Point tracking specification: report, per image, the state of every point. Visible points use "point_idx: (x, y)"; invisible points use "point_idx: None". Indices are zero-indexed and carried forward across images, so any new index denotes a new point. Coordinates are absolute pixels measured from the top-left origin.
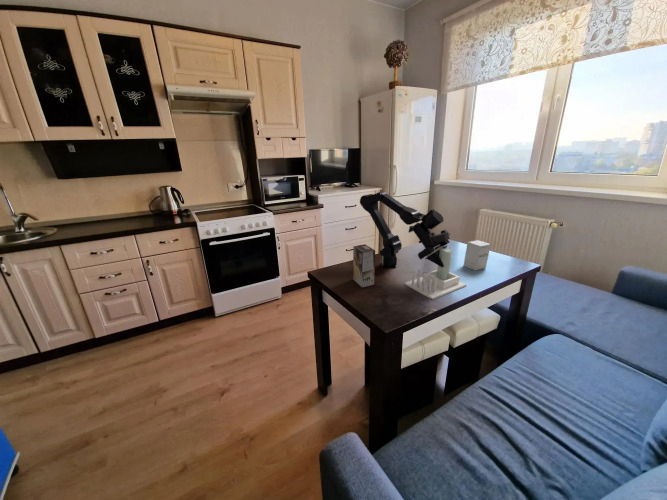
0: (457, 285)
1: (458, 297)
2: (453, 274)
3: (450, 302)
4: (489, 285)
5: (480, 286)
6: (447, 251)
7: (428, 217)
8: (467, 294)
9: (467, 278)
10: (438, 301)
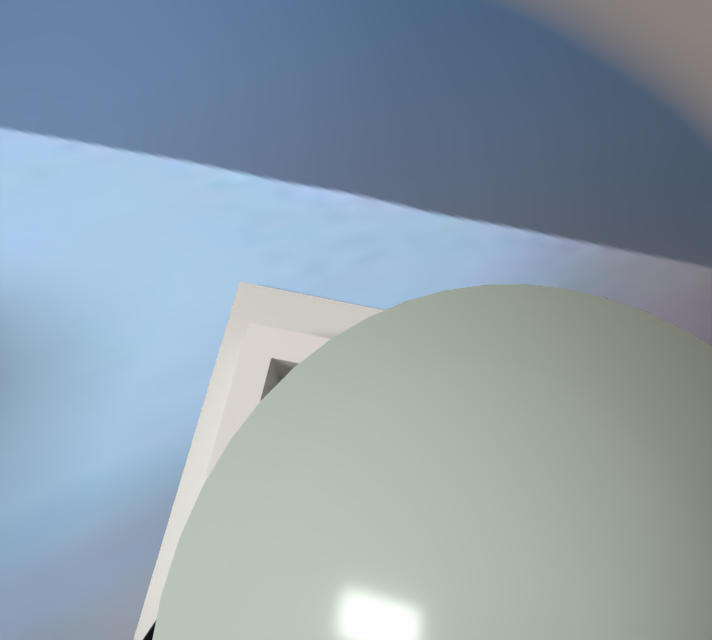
0: (331, 333)
1: (505, 251)
2: (239, 413)
3: (630, 262)
4: (81, 155)
5: (157, 200)
6: (621, 491)
7: None
8: (396, 222)
9: (40, 352)
10: (704, 335)
